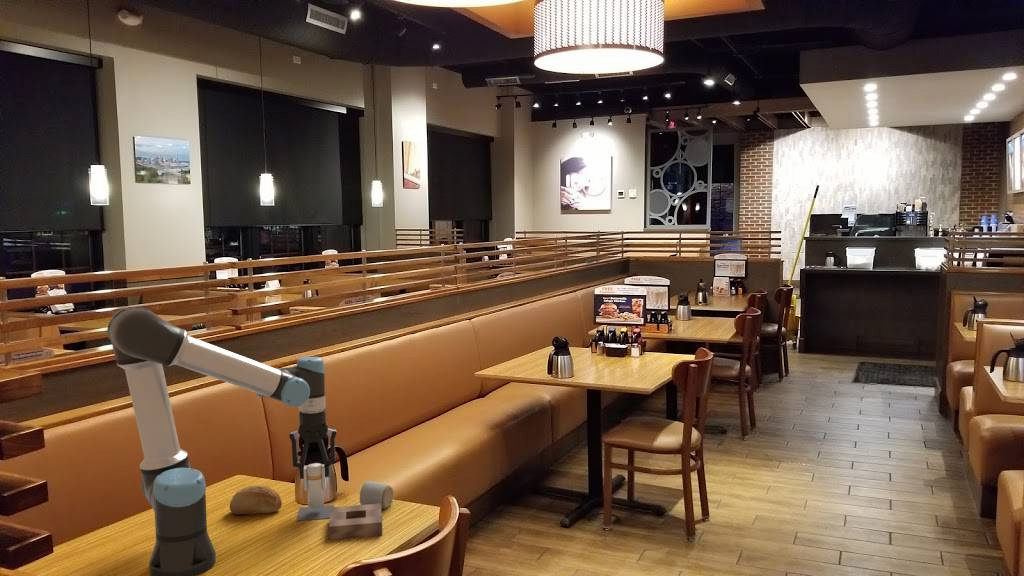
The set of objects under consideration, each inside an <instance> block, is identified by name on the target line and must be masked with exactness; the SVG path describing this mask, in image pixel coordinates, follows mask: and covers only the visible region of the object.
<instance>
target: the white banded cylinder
mask: <svg viewBox="0 0 1024 576" xmlns="http://www.w3.org/2000/svg"><path fill="white" fill-rule="evenodd" d="M322 465H323V464H322V463H319V462H315V463H310V464H308V465H305V466H306V467H307V486H308V489H307V501H308V503H307V504H308V507H309V508H320V507H322V506H325V498H324V497H325V495H324V489H323V483H322Z"/></svg>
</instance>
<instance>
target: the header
mask: <svg viewBox="0 0 1024 576" xmlns="http://www.w3.org/2000/svg"><path fill="white" fill-rule="evenodd" d="M383 533H384V531H383V515H382V509H381V504H368V505H361V504H354V505H343V506H334V507H332V508H331V515H330V519H329V524H328V541H334V540H335V541H336V540H337V541H338V540H349V539H359V538H360V539H362V538H373V537H382V536H383V535H384V534H383Z"/></svg>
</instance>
